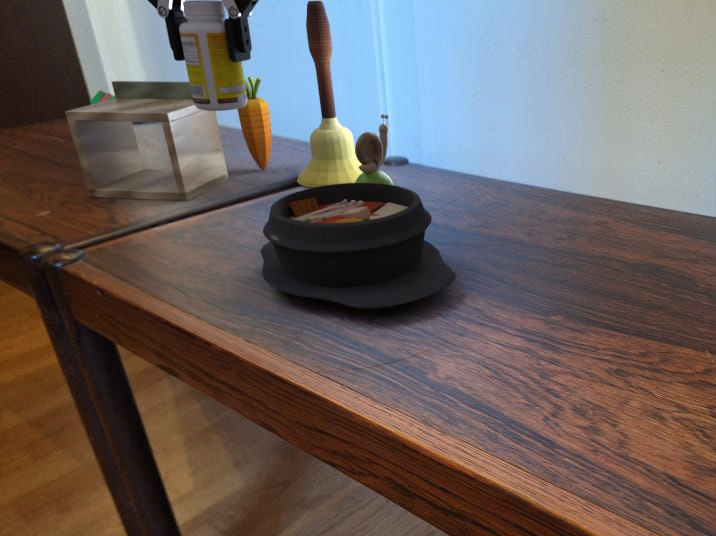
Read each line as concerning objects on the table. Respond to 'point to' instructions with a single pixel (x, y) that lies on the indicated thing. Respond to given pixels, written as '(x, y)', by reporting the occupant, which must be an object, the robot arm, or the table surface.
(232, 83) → the supplement bottle
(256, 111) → the carrot
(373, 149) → the snail figurine
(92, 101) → the building blocks
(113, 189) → the shelf
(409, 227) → the casserole
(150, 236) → the table surface
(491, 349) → the table surface
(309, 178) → the handbell
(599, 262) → the table surface
